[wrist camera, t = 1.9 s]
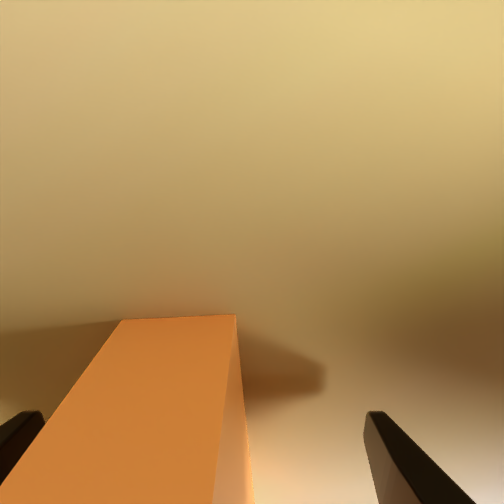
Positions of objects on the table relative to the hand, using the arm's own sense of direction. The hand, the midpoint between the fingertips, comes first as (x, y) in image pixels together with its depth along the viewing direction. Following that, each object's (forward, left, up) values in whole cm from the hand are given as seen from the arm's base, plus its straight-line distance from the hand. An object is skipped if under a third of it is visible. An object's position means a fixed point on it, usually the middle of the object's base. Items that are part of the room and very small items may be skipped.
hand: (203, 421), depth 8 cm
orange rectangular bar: (0, +7, -2) cm, 8 cm away
